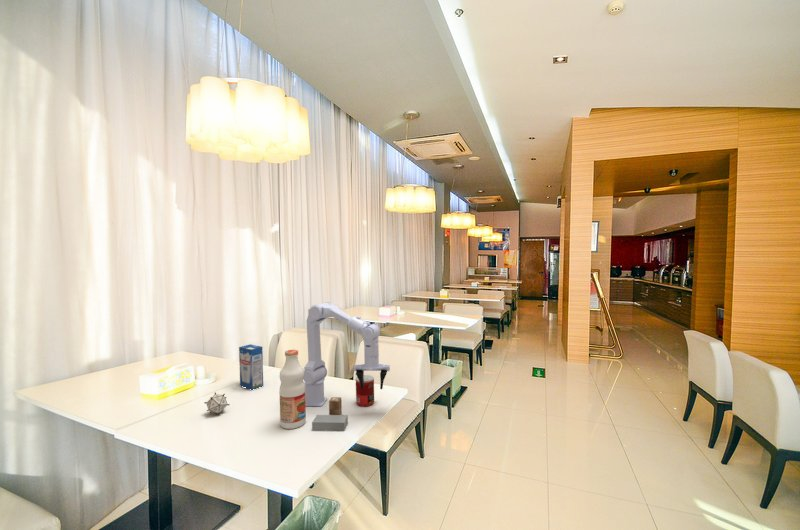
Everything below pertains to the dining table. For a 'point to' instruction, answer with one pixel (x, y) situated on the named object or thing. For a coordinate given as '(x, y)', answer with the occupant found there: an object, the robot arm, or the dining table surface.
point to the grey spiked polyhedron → (216, 403)
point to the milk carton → (251, 366)
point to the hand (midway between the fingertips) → (372, 388)
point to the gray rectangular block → (330, 422)
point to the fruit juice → (292, 392)
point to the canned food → (365, 391)
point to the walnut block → (335, 406)
